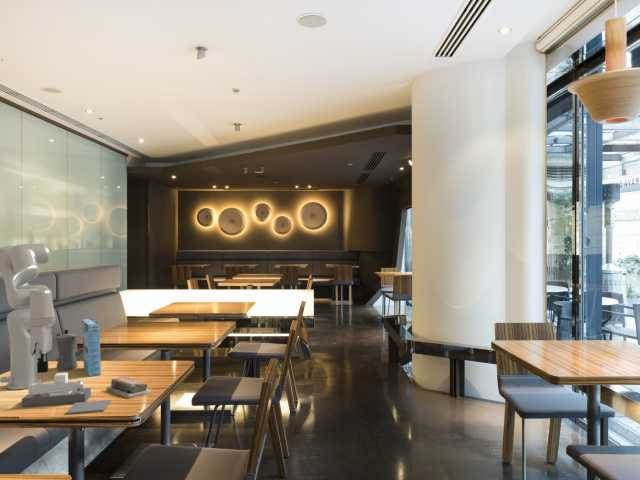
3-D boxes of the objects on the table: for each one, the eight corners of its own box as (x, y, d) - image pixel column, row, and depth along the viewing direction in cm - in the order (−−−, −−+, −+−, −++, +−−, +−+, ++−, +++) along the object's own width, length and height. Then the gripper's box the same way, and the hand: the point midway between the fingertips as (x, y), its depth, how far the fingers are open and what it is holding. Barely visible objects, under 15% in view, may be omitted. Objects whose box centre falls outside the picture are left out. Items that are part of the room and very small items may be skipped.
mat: (65, 414, 169) (65, 412, 169) (75, 404, 180) (75, 402, 180) (103, 411, 172) (103, 409, 172) (110, 401, 182) (110, 399, 182)
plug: (49, 404, 181) (48, 376, 181) (55, 398, 187) (54, 372, 187) (68, 402, 182) (68, 375, 182) (73, 397, 188) (73, 371, 188)
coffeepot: (84, 367, 235) (83, 329, 235) (64, 372, 227) (63, 332, 227) (67, 363, 244) (66, 326, 244) (47, 368, 236) (46, 329, 236)
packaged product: (105, 379, 197) (129, 373, 205) (106, 391, 197) (129, 385, 204) (128, 386, 185) (153, 381, 193) (128, 400, 185) (153, 393, 193)
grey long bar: (28, 394, 179) (27, 386, 179) (30, 393, 181) (30, 384, 181) (82, 390, 182) (82, 382, 182) (83, 388, 184) (83, 380, 184)
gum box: (101, 375, 220) (99, 323, 221) (88, 377, 218) (87, 324, 218) (94, 366, 237) (93, 318, 237) (82, 368, 234) (81, 319, 234)
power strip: (21, 407, 178) (21, 397, 178) (30, 400, 186) (30, 390, 186) (85, 402, 182) (84, 392, 182) (90, 395, 190) (90, 386, 190)
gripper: (37, 320, 193) (39, 368, 192) (22, 326, 178) (24, 377, 178) (58, 319, 194) (60, 367, 194) (45, 324, 180) (47, 375, 179)
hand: (42, 372), depth 186 cm, fingers closed
